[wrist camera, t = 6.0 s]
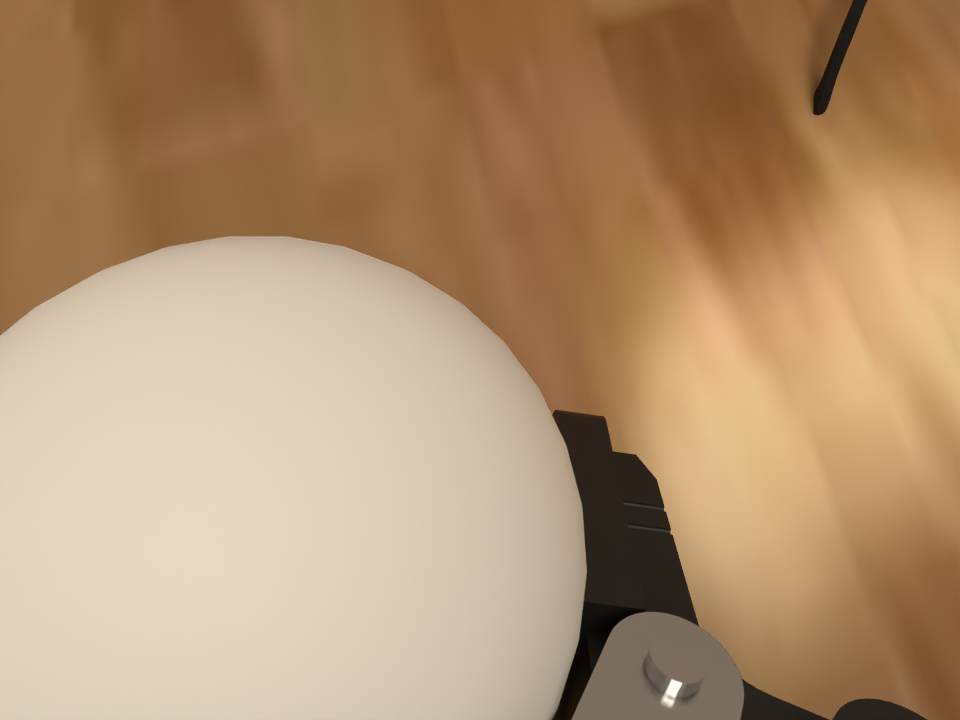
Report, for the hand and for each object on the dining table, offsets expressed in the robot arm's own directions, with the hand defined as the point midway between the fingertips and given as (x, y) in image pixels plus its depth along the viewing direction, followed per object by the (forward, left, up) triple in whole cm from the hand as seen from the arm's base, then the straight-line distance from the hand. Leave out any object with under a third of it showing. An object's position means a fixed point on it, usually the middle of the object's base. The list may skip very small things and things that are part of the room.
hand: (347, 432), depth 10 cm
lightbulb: (+1, +1, -5) cm, 5 cm away
